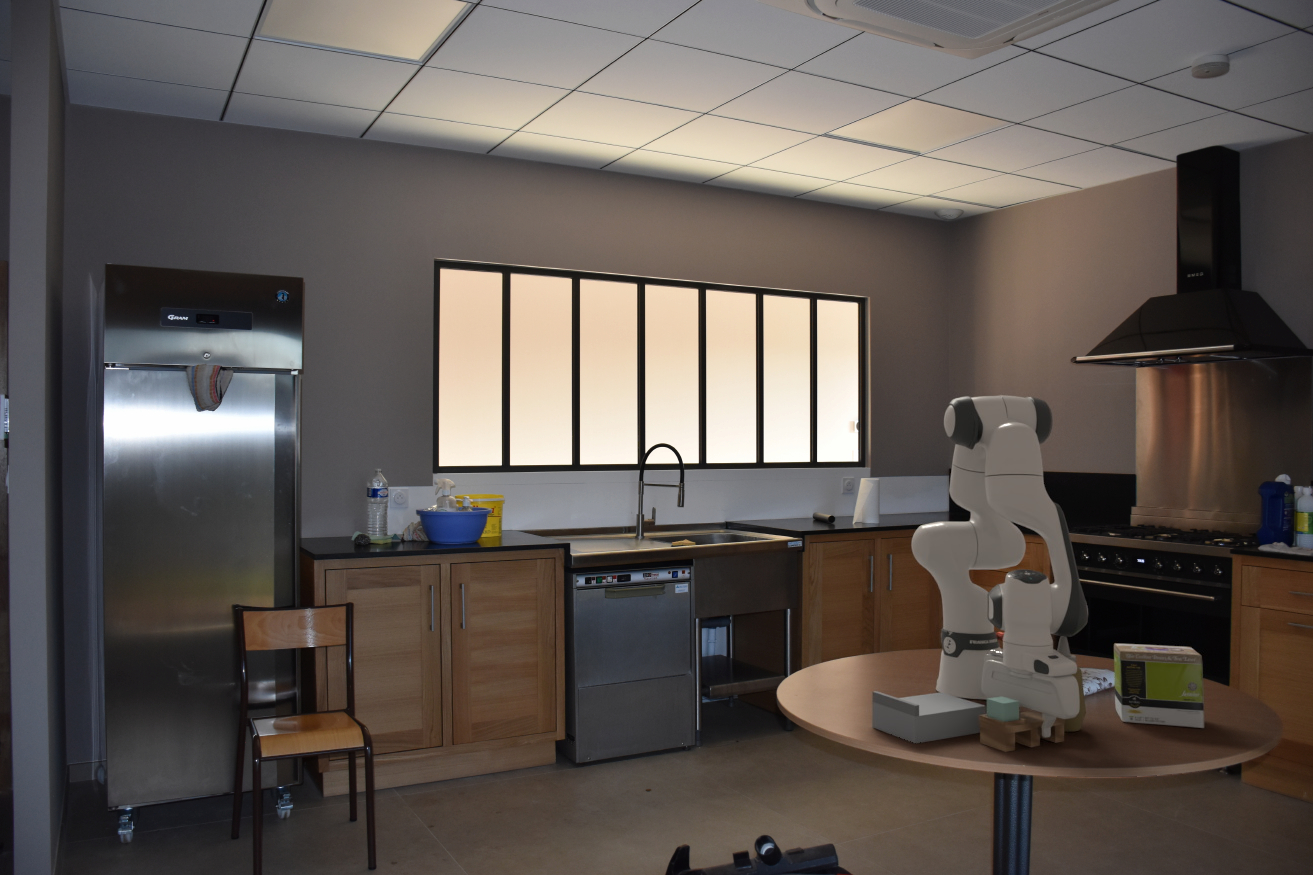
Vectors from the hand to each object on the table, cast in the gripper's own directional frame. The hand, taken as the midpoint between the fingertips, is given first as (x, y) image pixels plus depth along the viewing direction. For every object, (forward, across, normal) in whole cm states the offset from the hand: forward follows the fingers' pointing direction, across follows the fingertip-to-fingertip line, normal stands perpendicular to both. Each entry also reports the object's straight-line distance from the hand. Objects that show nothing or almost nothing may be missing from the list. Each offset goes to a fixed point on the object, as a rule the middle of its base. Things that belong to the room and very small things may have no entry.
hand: (1027, 731), depth 176 cm
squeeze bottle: (+2, -3, +14) cm, 14 cm away
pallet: (+2, 0, -2) cm, 2 cm away
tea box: (+2, +1, +36) cm, 37 cm away
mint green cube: (-3, 0, -7) cm, 7 cm away
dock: (+2, -14, -12) cm, 18 cm away
